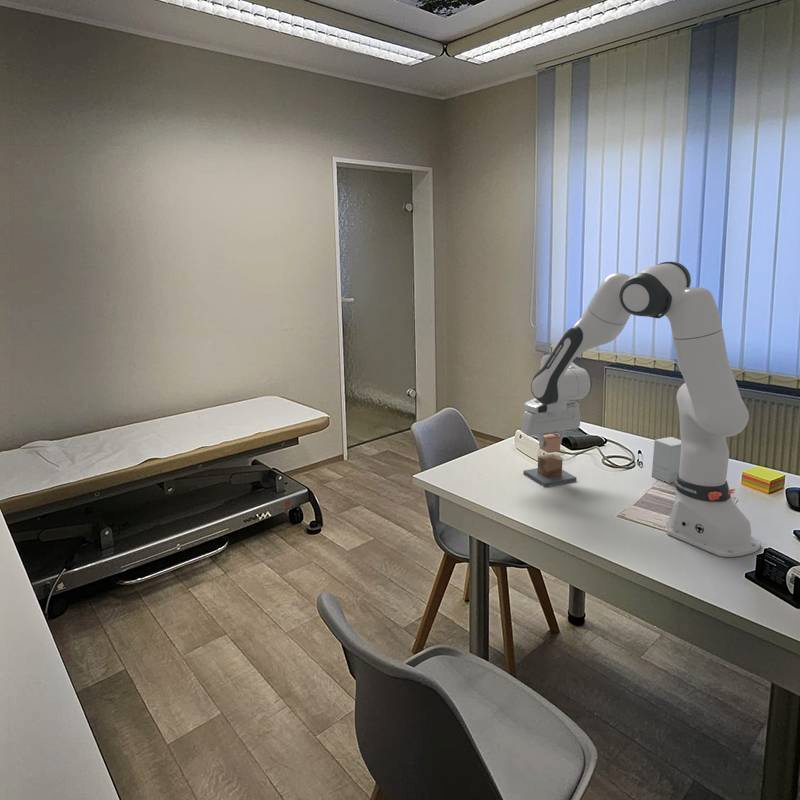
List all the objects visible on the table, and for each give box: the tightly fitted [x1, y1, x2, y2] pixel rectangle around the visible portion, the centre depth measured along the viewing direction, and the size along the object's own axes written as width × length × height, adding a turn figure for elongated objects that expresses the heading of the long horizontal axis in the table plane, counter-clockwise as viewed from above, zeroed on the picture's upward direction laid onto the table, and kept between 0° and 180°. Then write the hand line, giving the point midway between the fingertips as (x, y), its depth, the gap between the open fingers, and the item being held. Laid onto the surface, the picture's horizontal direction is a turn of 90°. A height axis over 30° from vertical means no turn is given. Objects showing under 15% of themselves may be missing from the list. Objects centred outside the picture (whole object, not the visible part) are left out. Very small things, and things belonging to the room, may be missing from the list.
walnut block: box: [537, 453, 564, 478], centre depth 198 cm, size 6×6×6 cm
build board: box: [523, 467, 577, 488], centre depth 198 cm, size 12×12×1 cm
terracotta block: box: [539, 433, 561, 454], centre depth 195 cm, size 4×4×4 cm
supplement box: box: [651, 436, 681, 484], centre depth 194 cm, size 7×7×13 cm
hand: (550, 445), depth 196 cm, fingers closed on terracotta block, 4 cm apart
